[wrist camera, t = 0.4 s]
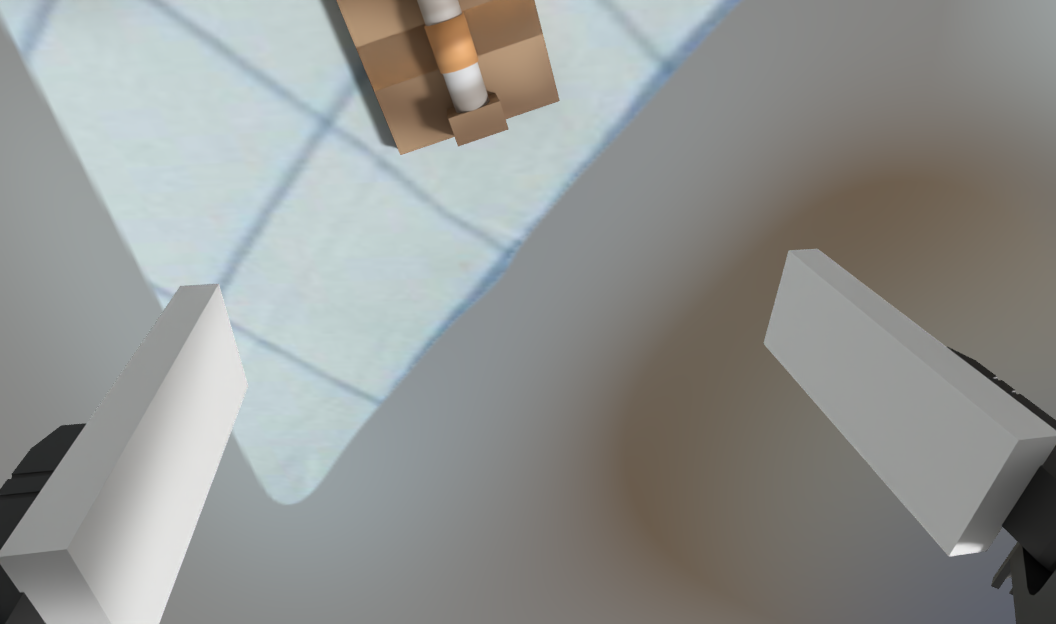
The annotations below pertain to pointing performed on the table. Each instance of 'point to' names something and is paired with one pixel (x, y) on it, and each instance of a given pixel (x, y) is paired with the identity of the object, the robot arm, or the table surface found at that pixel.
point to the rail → (431, 92)
